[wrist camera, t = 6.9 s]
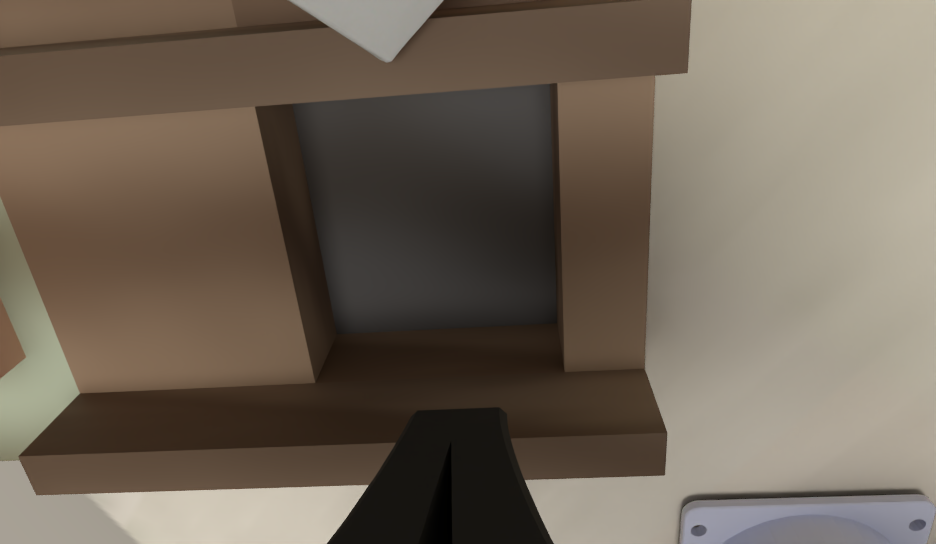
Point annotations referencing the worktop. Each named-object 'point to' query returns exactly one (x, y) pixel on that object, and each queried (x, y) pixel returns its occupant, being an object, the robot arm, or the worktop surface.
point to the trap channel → (324, 238)
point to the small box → (373, 21)
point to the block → (8, 344)
